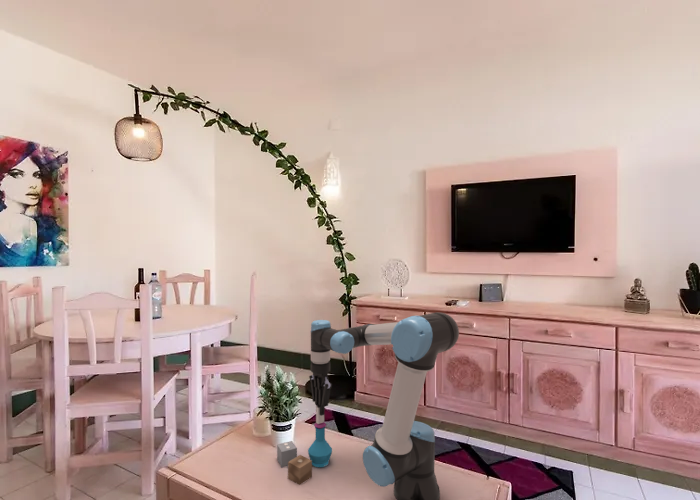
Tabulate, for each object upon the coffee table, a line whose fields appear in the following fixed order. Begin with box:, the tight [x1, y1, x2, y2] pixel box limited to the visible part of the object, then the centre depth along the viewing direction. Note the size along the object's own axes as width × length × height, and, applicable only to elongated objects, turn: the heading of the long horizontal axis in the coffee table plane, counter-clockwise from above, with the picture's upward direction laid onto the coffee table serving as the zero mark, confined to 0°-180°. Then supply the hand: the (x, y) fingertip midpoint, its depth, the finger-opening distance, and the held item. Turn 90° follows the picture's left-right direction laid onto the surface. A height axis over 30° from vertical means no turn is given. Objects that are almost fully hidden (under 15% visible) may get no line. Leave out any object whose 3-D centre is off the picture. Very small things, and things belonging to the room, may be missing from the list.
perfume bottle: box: [307, 421, 333, 468], centre depth 144 cm, size 9×9×15 cm
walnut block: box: [287, 454, 313, 486], centre depth 135 cm, size 6×6×6 cm
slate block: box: [276, 440, 298, 468], centre depth 145 cm, size 6×6×6 cm
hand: (320, 422), depth 144 cm, fingers closed
